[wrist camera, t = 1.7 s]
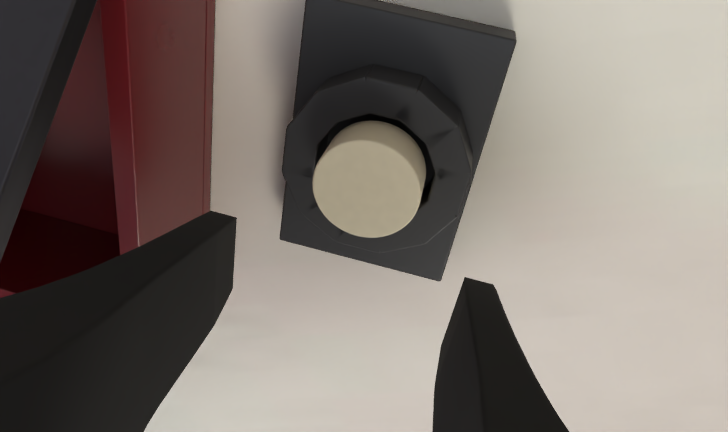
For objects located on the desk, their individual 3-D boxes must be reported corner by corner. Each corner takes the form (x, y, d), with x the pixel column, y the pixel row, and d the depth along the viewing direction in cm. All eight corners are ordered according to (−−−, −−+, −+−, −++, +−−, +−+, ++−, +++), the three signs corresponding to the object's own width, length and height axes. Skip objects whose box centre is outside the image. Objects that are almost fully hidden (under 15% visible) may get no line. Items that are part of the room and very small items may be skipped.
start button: (413, 223, 20) (407, 249, 19) (319, 199, 20) (305, 223, 19) (437, 133, 18) (432, 155, 17) (332, 108, 19) (319, 127, 17)
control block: (442, 263, 24) (437, 307, 21) (289, 223, 24) (265, 261, 22) (515, 30, 19) (519, 52, 16) (317, -14, 19) (290, 0, 17)
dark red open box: (209, 260, 26) (145, 344, 22) (-29, 196, 27) (-142, 262, 23) (218, -77, 19) (121, -66, 14) (-113, -149, 20) (-313, -163, 15)
